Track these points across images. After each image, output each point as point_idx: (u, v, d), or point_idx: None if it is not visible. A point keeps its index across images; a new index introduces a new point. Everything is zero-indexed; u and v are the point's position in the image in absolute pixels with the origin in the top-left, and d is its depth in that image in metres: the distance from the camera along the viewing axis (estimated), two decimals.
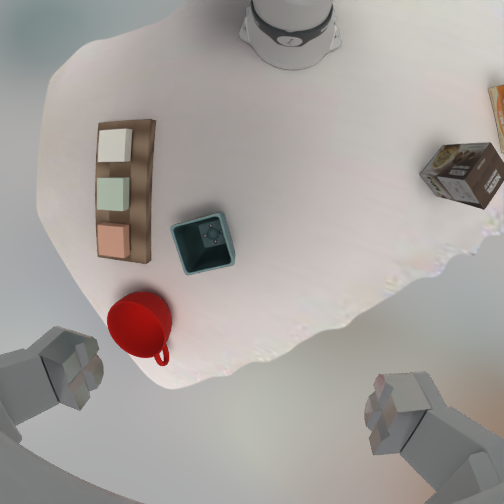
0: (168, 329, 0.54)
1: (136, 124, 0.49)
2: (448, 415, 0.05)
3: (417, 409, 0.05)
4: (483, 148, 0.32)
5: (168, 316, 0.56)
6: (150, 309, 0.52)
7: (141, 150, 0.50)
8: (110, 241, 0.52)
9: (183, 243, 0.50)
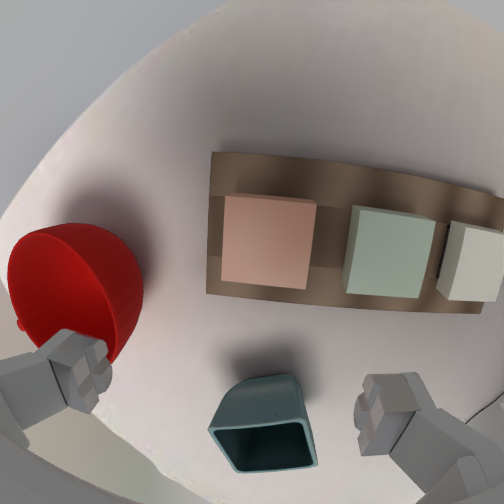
0: None
1: None
2: (437, 417, 0.05)
3: (405, 410, 0.05)
4: None
5: None
6: (115, 358, 0.21)
7: (442, 299, 0.24)
8: (267, 242, 0.20)
9: None
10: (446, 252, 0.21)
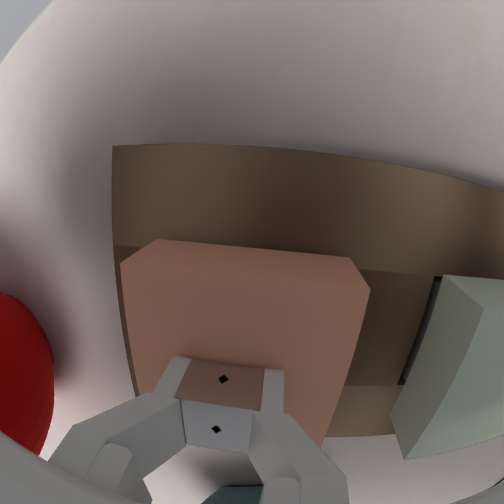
0: None
1: None
2: (276, 422, 0.05)
3: (244, 407, 0.06)
4: None
5: None
6: None
7: None
8: None
9: None
10: None
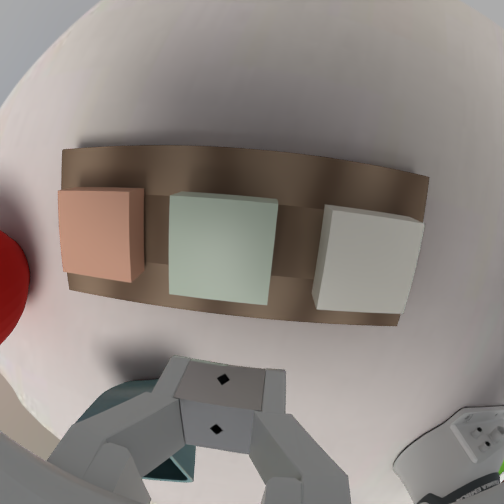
0: None
1: None
2: (278, 422, 0.05)
3: (245, 407, 0.06)
4: None
5: None
6: None
7: None
8: (91, 233, 0.18)
9: None
10: (319, 246, 0.19)
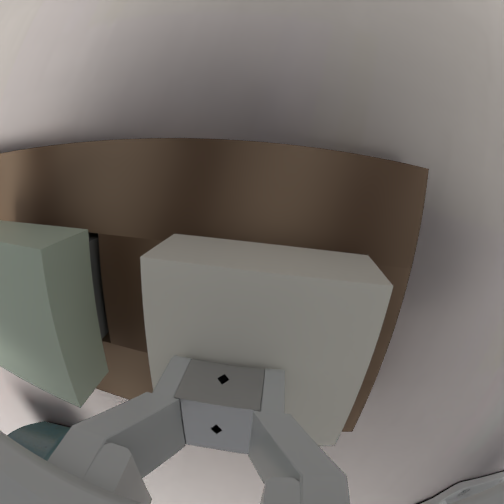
0: None
1: None
2: (276, 422, 0.05)
3: (244, 407, 0.06)
4: None
5: None
6: None
7: None
8: None
9: None
10: None
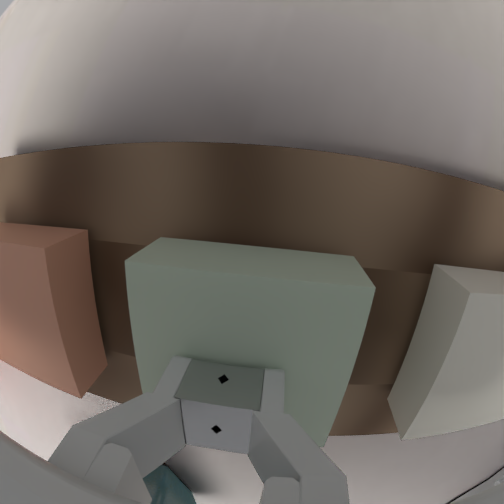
0: None
1: None
2: (275, 422, 0.05)
3: (244, 407, 0.06)
4: None
5: None
6: None
7: None
8: (9, 313, 0.08)
9: None
10: (416, 336, 0.09)
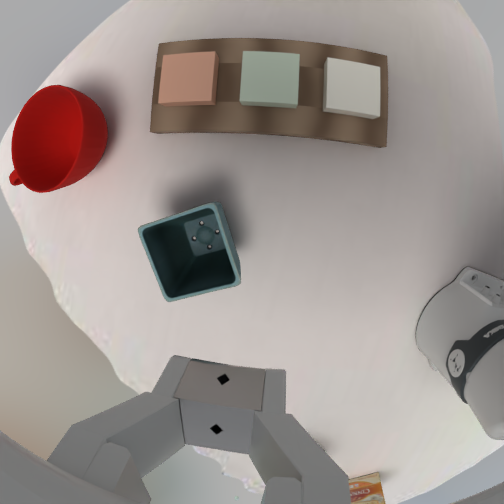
0: None
1: (380, 121, 0.30)
2: (278, 422, 0.05)
3: (245, 407, 0.06)
4: None
5: None
6: (76, 165, 0.27)
7: (339, 127, 0.31)
8: (186, 75, 0.27)
9: None
10: (324, 83, 0.29)
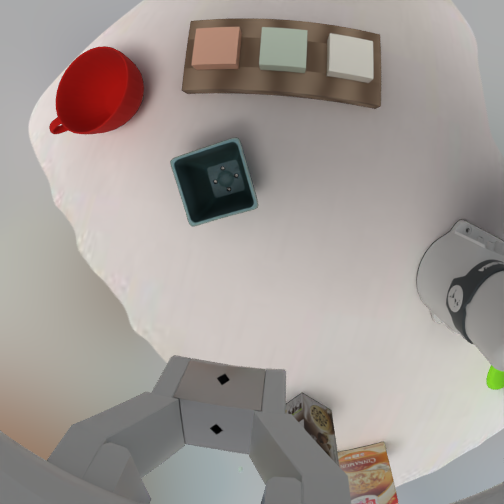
0: (95, 133, 0.35)
1: (375, 85, 0.34)
2: (277, 422, 0.05)
3: (245, 408, 0.06)
4: None
5: (112, 129, 0.36)
6: (119, 110, 0.32)
7: (340, 89, 0.35)
8: (215, 44, 0.32)
9: (213, 151, 0.35)
10: (327, 54, 0.33)
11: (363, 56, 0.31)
